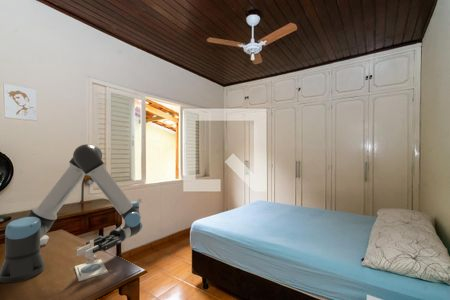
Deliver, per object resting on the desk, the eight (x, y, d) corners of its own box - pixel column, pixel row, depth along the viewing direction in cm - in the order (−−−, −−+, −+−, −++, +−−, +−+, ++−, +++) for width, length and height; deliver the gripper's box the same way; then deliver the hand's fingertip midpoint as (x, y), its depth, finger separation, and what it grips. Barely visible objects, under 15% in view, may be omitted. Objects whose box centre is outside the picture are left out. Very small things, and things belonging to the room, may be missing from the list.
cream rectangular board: (74, 267, 105) (74, 265, 105) (100, 260, 112) (100, 259, 112) (78, 281, 95) (78, 279, 95) (107, 272, 102) (107, 270, 102)
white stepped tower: (99, 261, 104) (100, 238, 104) (87, 265, 100) (87, 242, 100) (95, 257, 107) (95, 236, 107) (83, 261, 103) (83, 239, 103)
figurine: (33, 248, 125) (34, 221, 125) (29, 244, 131) (30, 218, 131) (49, 244, 130) (50, 218, 130) (45, 240, 136) (46, 215, 136)
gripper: (133, 243, 119) (97, 265, 96) (106, 239, 123) (66, 259, 101) (133, 229, 119) (97, 247, 96) (106, 226, 123) (66, 242, 101)
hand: (81, 253), depth 98 cm, fingers closed on white stepped tower, 4 cm apart
